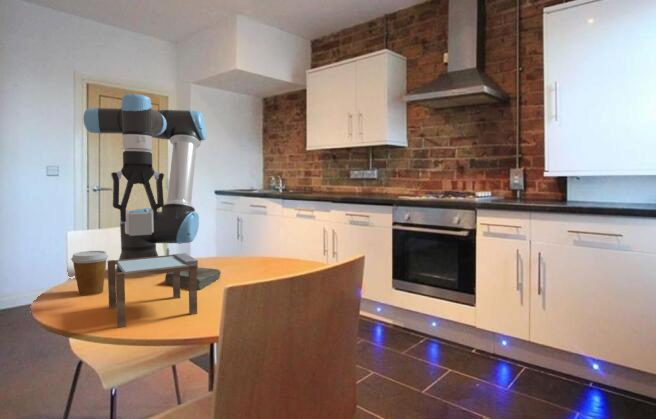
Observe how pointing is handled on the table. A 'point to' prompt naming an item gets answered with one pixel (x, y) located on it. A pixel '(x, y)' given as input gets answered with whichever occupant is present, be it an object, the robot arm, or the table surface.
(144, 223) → the granite block
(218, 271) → the marble piece
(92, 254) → the disposable coffee cup
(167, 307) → the table surface
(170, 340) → the table surface
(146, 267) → the trapdoor
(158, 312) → the table surface
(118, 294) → the walnut frame
